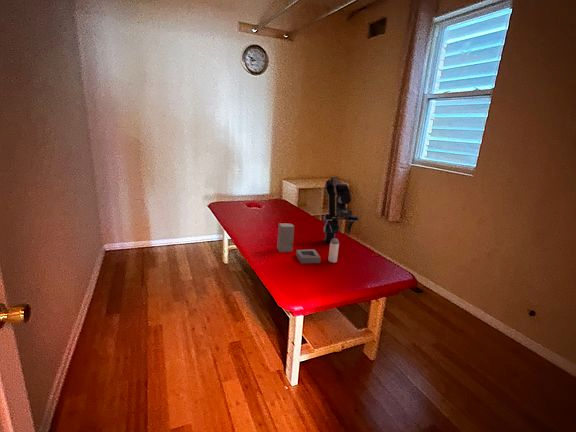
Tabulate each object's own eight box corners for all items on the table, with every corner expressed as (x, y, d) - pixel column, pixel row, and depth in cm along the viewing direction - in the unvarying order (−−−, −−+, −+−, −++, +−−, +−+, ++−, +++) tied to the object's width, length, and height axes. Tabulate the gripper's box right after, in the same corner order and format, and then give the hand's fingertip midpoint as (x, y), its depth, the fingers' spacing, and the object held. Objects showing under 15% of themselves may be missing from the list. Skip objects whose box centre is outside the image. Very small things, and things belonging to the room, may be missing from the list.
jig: (296, 255, 182) (296, 249, 181) (314, 254, 184) (314, 249, 183) (300, 263, 171) (301, 258, 170) (320, 262, 174) (320, 257, 173)
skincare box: (279, 252, 183) (280, 227, 179) (276, 247, 190) (277, 222, 185) (293, 251, 186) (295, 226, 181) (290, 247, 192) (291, 222, 188)
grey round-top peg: (327, 258, 179) (329, 236, 175) (335, 258, 180) (337, 236, 176) (329, 262, 175) (332, 240, 171) (338, 262, 176) (340, 240, 172)
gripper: (327, 203, 170) (327, 232, 170) (361, 205, 172) (361, 233, 171) (323, 205, 182) (323, 232, 181) (355, 206, 183) (354, 233, 182)
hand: (340, 233), depth 178 cm, fingers open, 9 cm apart
